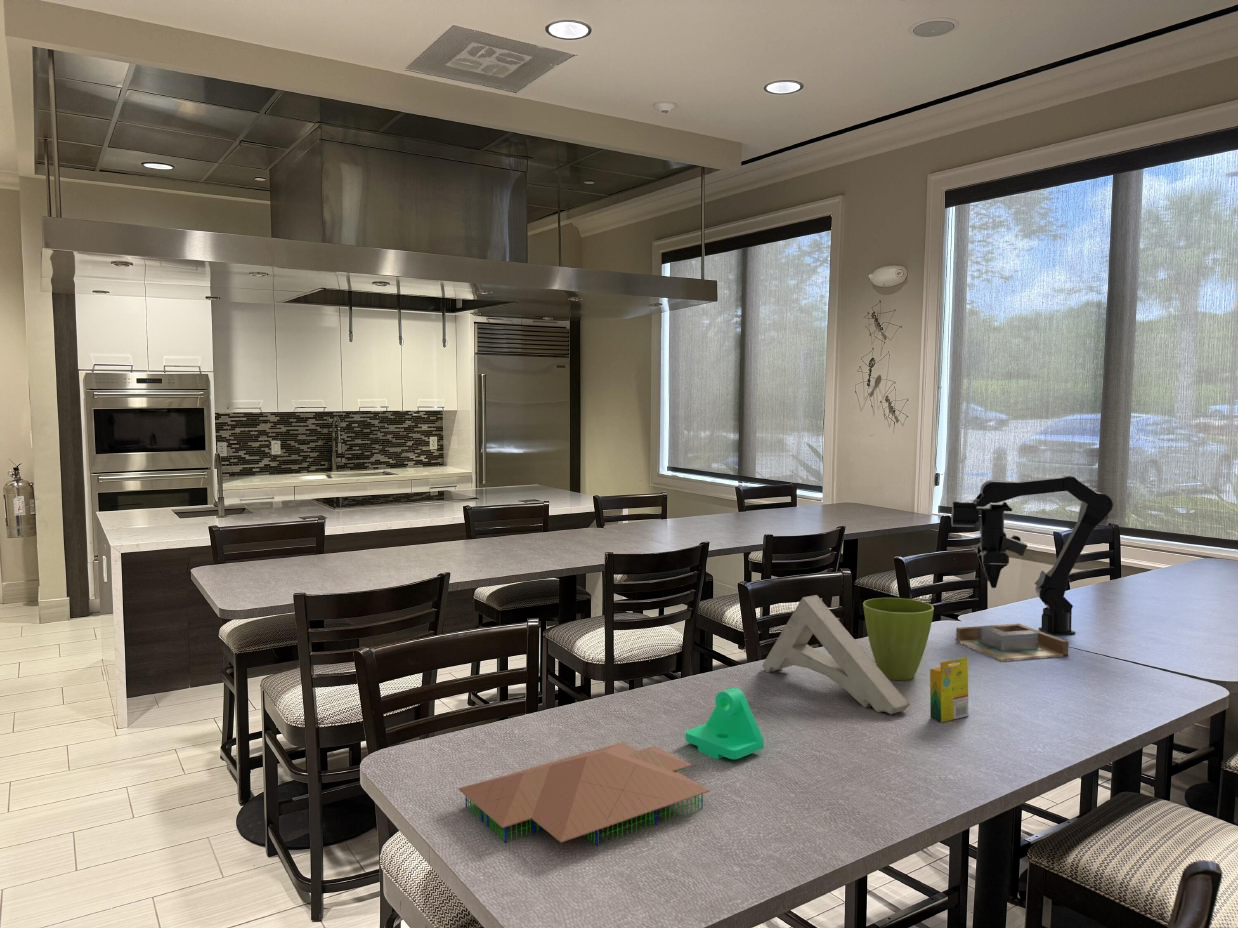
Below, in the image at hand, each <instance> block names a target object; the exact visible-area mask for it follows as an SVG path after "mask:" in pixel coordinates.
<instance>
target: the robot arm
mask: <svg viewBox="0 0 1238 928" xmlns="http://www.w3.org/2000/svg"><path fill="white" fill-rule="evenodd" d="M1063 492H1068V493H1069V494H1070V495H1072V496H1073V497H1075V499H1077V500H1079V501H1080V502H1081V504H1080V507H1079V510H1078V511H1079V512H1078V517H1077V521H1076V523H1075V524H1074V527H1073V528H1072V531H1071V533H1070V535H1069V536H1068V538H1067V540H1066V541H1065V544H1064V546H1063V547H1062V549H1061V551H1060V553H1059V555H1058V557H1057V559H1056V561H1055V563H1054V564H1053V566H1052V567H1051V569H1049V570H1048V571H1047V572H1045V571H1044V570H1041V571H1040V574H1039V577H1038V579H1037V580H1036V581H1035V582H1034V585H1035V587H1034V588H1035V589H1034V590H1035V591H1034V592H1035V593H1036V596H1037V597H1038V598H1039V600H1041V602H1042V603H1043V604H1044V605H1045V607H1043V608H1042V614H1041V627H1038V631H1041V632H1044V633H1047V634H1049V635H1052V636H1063V635H1075V634H1076V633H1077V632H1076V631H1073V630H1072V609H1073V608H1074V605H1073V604H1072V603H1071V602H1070V601H1069V600H1068V599H1067V598H1066V597H1065V594H1066V590H1067V587H1068V580H1069V576H1070V574H1071V573H1072V571H1073V568H1074V567H1075V564H1076V563H1077V561H1078V559H1079V557H1080V556H1081V553H1082V552H1083V550H1084V548H1085V546H1086V544H1087V543H1088V541H1089V539H1090V537H1091V535H1092V534H1093V532H1094V530H1095V529H1096V528H1097V526H1099V524H1101V523H1102V522H1103V521H1104V520H1105V519H1106V517H1107V516H1108V515H1109V514H1110V513H1111V511H1112V510H1113V506H1114V503H1113V501H1112V498H1110V496H1109V495H1107V494H1105V493H1103V492H1099V491H1095V490H1093V489H1091V488H1090V487H1088V486H1087V485H1086V484H1083V483H1082V482H1081V481H1080V480H1078V478H1077V477H1075V476H1072V475H1067V474H1065V475H1063V476H1058V477H1057V476H1056V477H1049V478H1047V477H1046V478H1040V479H1039V478H1038V479H1031V480H1023V481H1022V480H1021V481H1010V480H994V479H993V480H992V479H990V480H986V481H984V482H983V484H982V485H981V486H980V492H979V494H977V496H976V497H975V498H974V499H973V501H972V502H970V501H967V502H966V501H965V502H964V501H957V500H954V501H952V506H951V514H950V516H951V518H950V519H951V521H950V522H951V527H967V528H970V527H971V528H972V527H975V525H977V524H979V521H980V529H979V534H980V542H979V543H978V544H977V545H976V549H975V552H976V555H977V558H978V560H979V563H980V565H981V569H982V571H983V573H984V575H985V578H986V581H987V582H989V585H990V587H991V588H992V589H996V588H997V586H998V582H999V579H1000V575H1001V572H1002V570H1003V569H1004V568H1005V567H1008V565H1009V563H1010V555H1008V553H1007V551H1009V552H1012V553H1015V554H1017V555H1018V556H1020V557H1024V555H1025V553H1026V550H1027V549H1028V546H1029V545H1028V544H1026V543H1025V542H1024V541H1021V537H1020V536H1018V535H1016V534H1014V535H1012V536H1011V537H1009V536H1007V533H1006V532H1005V512H1012V511H1013V508H1011V507H1010V505H1008V503H1007V502H1006V501H1009V500H1012V499H1015V498H1018V497H1022V496H1031V495H1042V494H1051V493H1063ZM999 503H1000V504H999ZM988 505H989V507H987V506H988Z"/></svg>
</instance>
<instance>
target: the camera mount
mask: <svg viewBox="0 0 1238 928" xmlns="http://www.w3.org/2000/svg"><path fill="white" fill-rule="evenodd" d="M714 701H715V702H714V704H715V708H714V709H713V711H712V713H711V715H710V716H709V718H708V720H707V722H706V723H704V724H701V725H698V726H696V727H693V728H690V729H688V730H685V742H686V743H690V744H692V745H695V746H696V747H697V752H699V753H702V754H704V755H706V756H710V757H711V758H714V759H716V760H719V759H722V758H726V759H727V758H728V759H730V760H739V759H742V758H743V757H744V758H745V757H746V756H748V755H751V754H753V753H756V752H758V751H760V750H763V749H764V746H765V745H764V744H765V743H764V742H765V741H764V738H763V737H764V736H763V735H762V732H761V730H760V728H759V726H758V724H757V721H756V719H755V716H754V714H753V712H752V709H751V707H750V705H749V702H748V700H747V698H746V696H745V694H744V691H742V690H741V689H740V688H738V687H732V688H729V689H725V690H722V691H719V692H718V693H717V694H716V696H715V700H714Z"/></svg>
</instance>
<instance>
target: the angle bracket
mask: <svg viewBox="0 0 1238 928" xmlns="http://www.w3.org/2000/svg"><path fill="white" fill-rule="evenodd" d="M980 626H981V627H978V642H979V643H981V644H983V645H986V646H988V647H990V648H993V649H995V650H997V651H1000V652H1009V651H1023V650H1036V649H1038V633H1036V632H1034V631H1031V630H1025V631H1010V632H1004V631H1001V630H998V629H996V628H993V627H991V626H990V625H980Z"/></svg>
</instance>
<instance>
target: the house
mask: <svg viewBox="0 0 1238 928" xmlns="http://www.w3.org/2000/svg"><path fill="white" fill-rule="evenodd" d="M689 767H692V764H691V763H689V762H687V761H685V760H683V759H682V758H680V757H679V756H678V757H677V756H676V755H674V754H672V753H670V752H669V751H666V750H664V749H662V748H660V747H658V746H656V745H652V746H649V747H645V748H643V749H640V750H639V749H638V750H637V749H636V748H634V747H633V746H630V745H628V744H626V743H624V742H619V743H614V744H611V745H608V746H605V747H601V748H597V749H594V750H590V751H586V752H583V753H579V754H576V755H573V756H569V757H566V758H562V759H558V760H554V761H551V762H547V763H544V764H541V765H535V766H533V767H530V768H525V769H522V770H519V771H516V772H515V771H514V772H512V773H507V774H505V775H500V776H497V777H494V778H489V779H485V780H483V781H479V782H476V783H474V784H473V783H472V784H469V785H466V786H465V785H464V786H462V787H458V788H457V790H458V791H460V793H461V794H462V795H464V796H465V808H467V809H468V810H470V809H472V815H473V814H474V817H475V816H476V817H479V821H481V823H483V822H484V825H485V826H486V827H487V828H489V829H490V830H492V832H493V833H494V834H495V835H497V837H500V839H502V841H503V842H504V843H505V844H507V842H508V841H507V834H510V841H511V842H513V835H512V834H513V833H514V832H515V835H516V837H515V838H516V839H515V840H518V831H521V832H520V833H521V834H520V835H521V839H522V838H523V829H526V830H525V831H526V834H528V828H529V835H531V834H532V833H533V835H535V833H536V832H537V833H539V832H543V830H544V831H546V832H548V834H550V835H551V836H552V837H553V838H554V839H555V840H557V841H558V842H560V843H561V844H562V843H564V842H567V841H570V840H573V839H576V838H578V837H581V836H584V837H586V836H587V840H589V839H590V841H591V842H592V841H593V843H594V844H596V846H597V847H599V837H601V836H604V835H609V834H610V833H611V834H612V841H614V832H616V835H617V837H616V839H617V840H618V839H619V830H621V837H622V838H623V837H624V831H623V830H624V829H625V828H628V827H630V826H631V827H630V828H631V835H632V834H633V825H635V833H637V832H638V823H642V822H645V823H644V825H645V826H644V827H645V828H644V829H647V820H648V821H649V828H651V826H652V825H651V823H652V824H654V825H655V826H657V825H658V817H659V816H662V815H664V823H666V822H667V813H669V814H668V815H669V816H668V817H669V821H671V812H672V811H673V819H676V818H675V811H676V810H677V817H678V818H679V817H680V809H682V816H684V807H688V806H690V813H692V812H693V805H694V811H695V812H696V811H697V810H698V811H700V809H701V810H702V809H703V808H704V806H703V804H704V803H703V801H704V799H703V798H704V797H703V796H704V794H706V793H709V792H711V790H710V789H709V788H707V787H706V786H703V785H702V784H700V783H698V782H696V781H694V780H693V779H692V778H691V779H690V778H689V777H687V776H685V775H684V774H682V773H680V771H682V770H685V769H686V768H689ZM700 797H701V798H700ZM693 798H694V799H693ZM689 799H690V803H687V804H686V805H684V801H687V800H689ZM693 800H694V802H693ZM680 802H682V803H681V804H682V805H681V806H680ZM700 802H701V803H700ZM675 804H677V808H676V809H675V806H673V805H675ZM696 804H697V805H696ZM671 805H672V806H673V809H671ZM700 805H701V806H700ZM668 806H669V810H668V811H667V808H666V807H668ZM663 808H664V812H663V813H662V809H663ZM658 810H660V812H661V813H660V814H658ZM651 814H652V816H651ZM686 814H687V815H688V814H689V813H688V808H686ZM639 816H640V817H641V816H642V818H643V817H645V818H644V819H643V820H640V821H638V819H637V818H638V817H639ZM648 816H649V817H648ZM634 818H635V823H633V819H634ZM628 820H631V824H627V825H626V826H623V824H624V823H623V822H627V821H628ZM651 820H652V822H651ZM528 821H529V824H530V825H528ZM523 822H526V823H525V824H526V827H523ZM519 823H520V824H521V825H520V826H521V827H520V828H517V827H518V825H517V824H519ZM619 823H621V827H619ZM514 825H515V830H513V831H512V826H514ZM614 825H616V829H615V830H614ZM611 826H612V829H611V831H609V827H611ZM507 827H510V831H509V832H507ZM532 827H533V828H532ZM531 828H532V830H531ZM535 828H536V829H535ZM604 828H606V829H607V833H606V832H605V833H602V834H599V830H604ZM536 830H537V831H536ZM531 831H532V833H531ZM640 831H642V827H640ZM628 834H629V833H628V831H626V836H628Z"/></svg>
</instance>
